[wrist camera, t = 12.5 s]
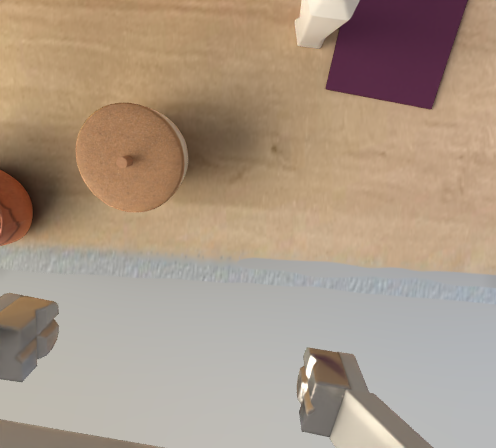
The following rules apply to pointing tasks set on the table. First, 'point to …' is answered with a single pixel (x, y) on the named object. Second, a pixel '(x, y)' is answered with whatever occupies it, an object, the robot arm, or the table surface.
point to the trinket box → (131, 156)
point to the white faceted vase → (321, 20)
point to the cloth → (395, 49)
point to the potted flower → (13, 210)
